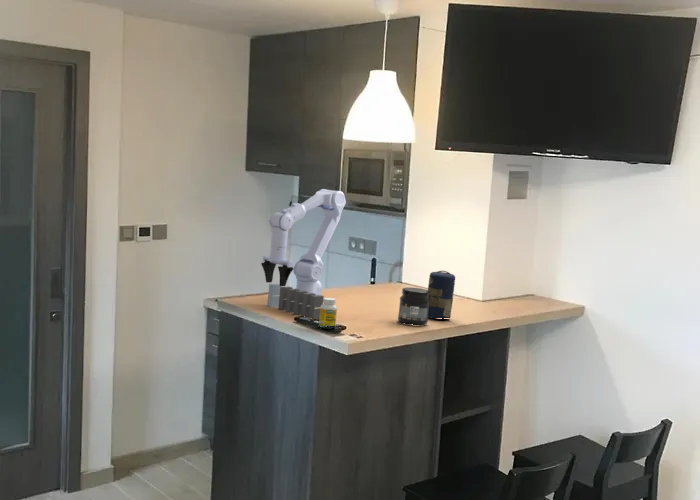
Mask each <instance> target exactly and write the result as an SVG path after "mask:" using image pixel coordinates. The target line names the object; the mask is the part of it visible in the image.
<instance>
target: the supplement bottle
mask: <svg viewBox="0 0 700 500" xmlns="http://www.w3.org/2000/svg"><path fill="white" fill-rule="evenodd" d="M336 302H337V301H336V298H333V297H324V298H323V304H322V305H321V307H320V318H319V319H318V320H319V321H318V327H319V326H320V327H327V326H333V325H335V326H336V322H337V313H338V312H337V311H338V307H337V306H336V305H335V304H336Z"/></svg>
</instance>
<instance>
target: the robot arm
mask: <svg viewBox="0 0 700 500" xmlns="http://www.w3.org/2000/svg"><path fill="white" fill-rule="evenodd" d="M346 204H347V201H346V197H345V194H344V192H343V191H341V190H331V189H325V188H322V189H320V190H318V191H316V192H315V194H314V195H312V196H311V197H308V198H307V199H306V200H305V201H304V202H302V203H296V202H293V203H291V204H290V205H291V206H289V207H287V208H284V209H282V210H281V211H280V212H278V211H277V212H274V213H273V214H272V215H271V216H270V219H269V220H268V223H269V226H270V227H271V229H270V231H271V237H270V238H271V239H270V251H269V255H262V262H261V267H262V269H263V272H264V277H265V278H264V279H265V282H266V283H272V282H273V278H274V271H275V268H276V266H277V265H278V266H277V269H278V272H279V284H280V286H281V287H286V285H287V282H288V279H289V277H290V275H291V273H292V272H293V273H294V275H295V279H296V284H295V289H300V291H307V292H308V293H314V294H316V295H322V291H323V286H322V283H321V281H319V280H320V278H321V276H322V272H323V268H324V265H325V264H324V262H323V260H322V257H323V255H324V253H325V251H326V249H327V248H328V247H327V246H328V245H329V243H330V240H331V239H332V236H333V234H334V232H335V230H336V228H337V226H338V224H339V222H340V220H341V217H342V212H343V209H344V208H345V205H346ZM317 207H320V209H321V211H322V213H323V214H324V218H323V220H322V222H321V224H320V226H319V228H318V231H317V232H316V234H315V236H314V239H313V241H312V243H311V245H310V247H309V249H308V251H307V252H306V253H304V254H303V255H301V256H300V257H299V259H298V260H297V261H296V262H295V264H294V261H291V260H289V259H287V251H288V249H287V248H288V237H289V230H290V229H291V228H292V227H293V224H295V223H297V221H299V220H301V219H303V218H305V216H306V213H307V212H309V211H311V210H313V209H315V208H317Z"/></svg>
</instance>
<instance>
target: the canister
mask: <svg viewBox="0 0 700 500" xmlns="http://www.w3.org/2000/svg"><path fill="white" fill-rule="evenodd" d="M455 285H456V276H455V275H454V274H453V273H451V272H449V271H448V270H447V271H446V270H438V271H432V272H430V273H429V279H428V286H427V290H428V291H429V297H428V299H429V300H430V304H429V311H428V318H429V317H432V318H442V319H444V318H450V319H451V316H452V308H453V300H454V292H455ZM432 318H431V319H432Z"/></svg>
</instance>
